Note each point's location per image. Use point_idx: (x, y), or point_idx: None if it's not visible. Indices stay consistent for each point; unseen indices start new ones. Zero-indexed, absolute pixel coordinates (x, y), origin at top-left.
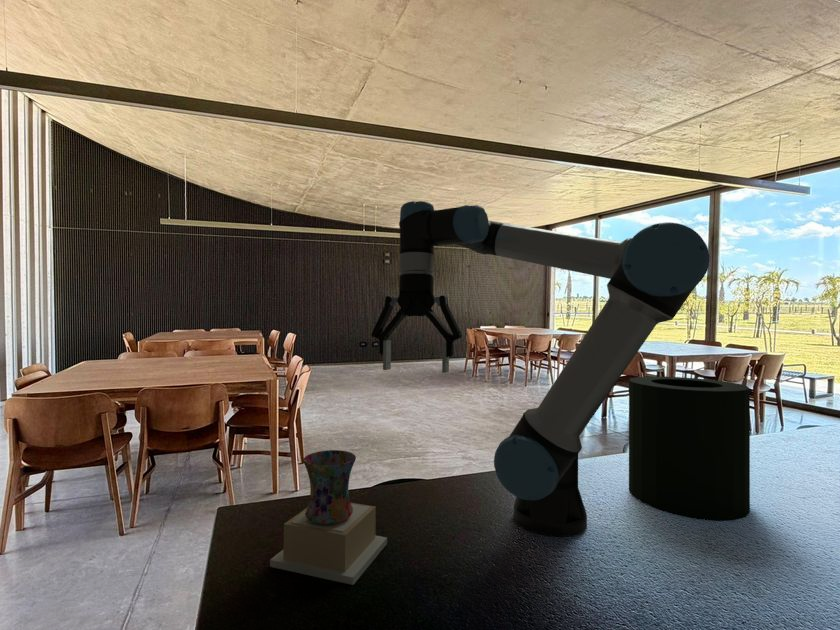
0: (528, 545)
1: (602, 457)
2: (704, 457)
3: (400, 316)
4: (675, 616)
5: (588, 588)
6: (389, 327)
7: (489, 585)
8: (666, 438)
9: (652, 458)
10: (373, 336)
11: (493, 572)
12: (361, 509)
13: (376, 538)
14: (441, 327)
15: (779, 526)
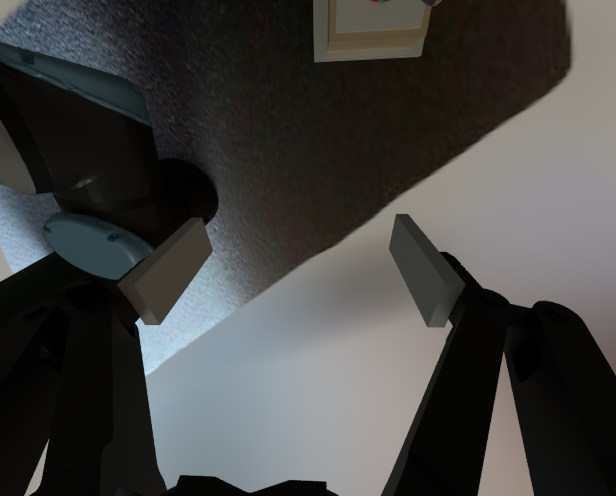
0: (177, 129)
1: (197, 336)
2: (18, 276)
3: (404, 470)
4: (7, 34)
5: (90, 55)
6: (471, 358)
7: (170, 9)
8: (40, 292)
9: None
10: (549, 303)
11: (180, 45)
12: (344, 13)
13: (325, 51)
14: (72, 357)
15: (32, 247)
